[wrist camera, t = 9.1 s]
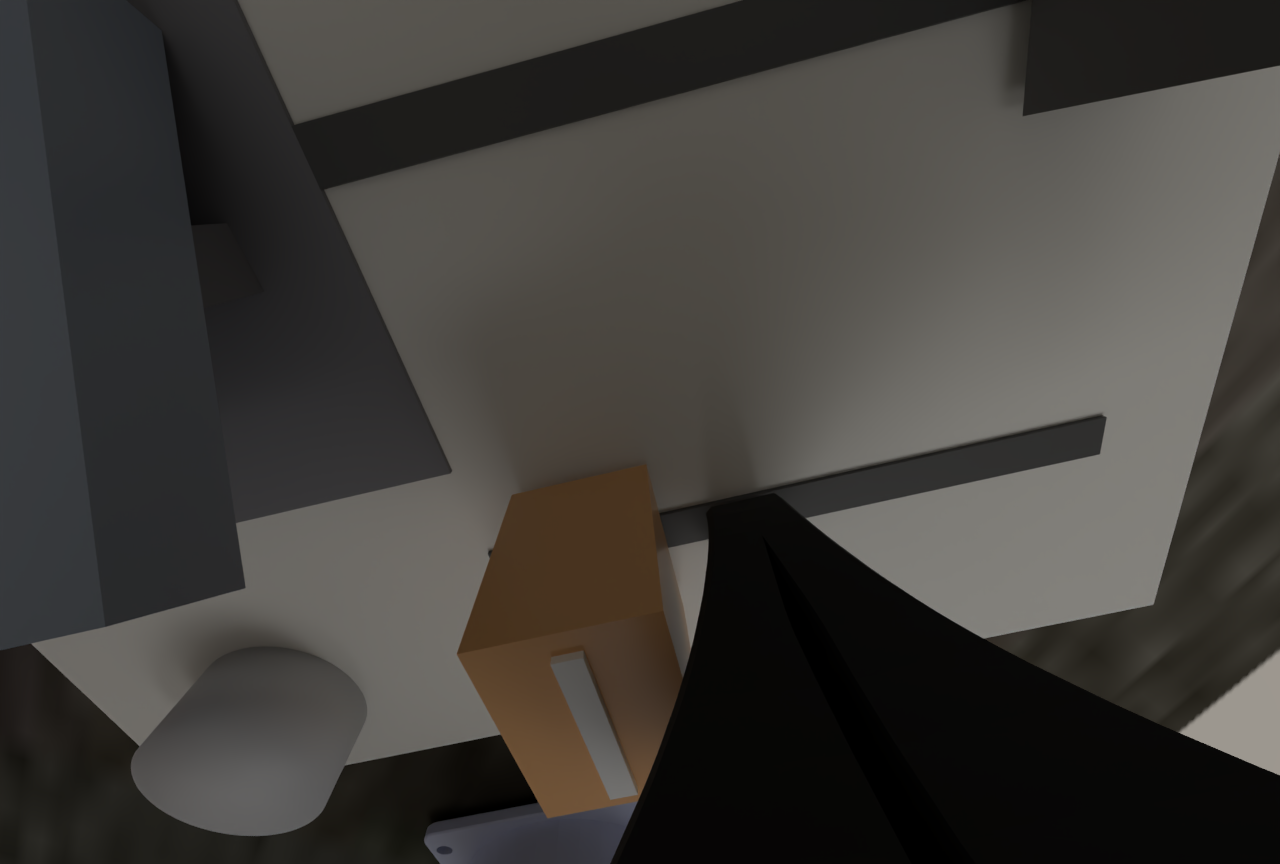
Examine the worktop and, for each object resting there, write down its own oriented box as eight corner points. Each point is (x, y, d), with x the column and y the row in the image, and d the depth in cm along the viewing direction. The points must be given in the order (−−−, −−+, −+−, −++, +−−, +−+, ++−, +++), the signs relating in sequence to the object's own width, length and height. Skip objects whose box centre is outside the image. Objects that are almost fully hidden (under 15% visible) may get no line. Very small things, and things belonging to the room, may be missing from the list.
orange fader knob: (683, 608, 10) (715, 795, 7) (567, 632, 11) (546, 826, 7) (646, 464, 9) (664, 617, 6) (511, 494, 9) (453, 661, 6)
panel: (1080, 549, 13) (1242, 671, 10) (243, 722, 15) (130, 882, 11) (1254, -398, 7) (1950, -1046, 3) (-322, 84, 8) (-1029, 0, 5)
